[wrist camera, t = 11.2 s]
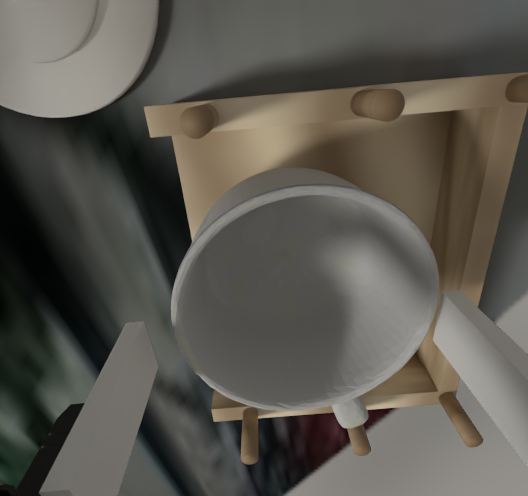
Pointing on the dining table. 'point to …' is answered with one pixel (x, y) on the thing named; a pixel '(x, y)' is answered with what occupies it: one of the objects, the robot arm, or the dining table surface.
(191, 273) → the teacup
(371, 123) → the rack
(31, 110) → the saucer
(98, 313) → the dining table surface
